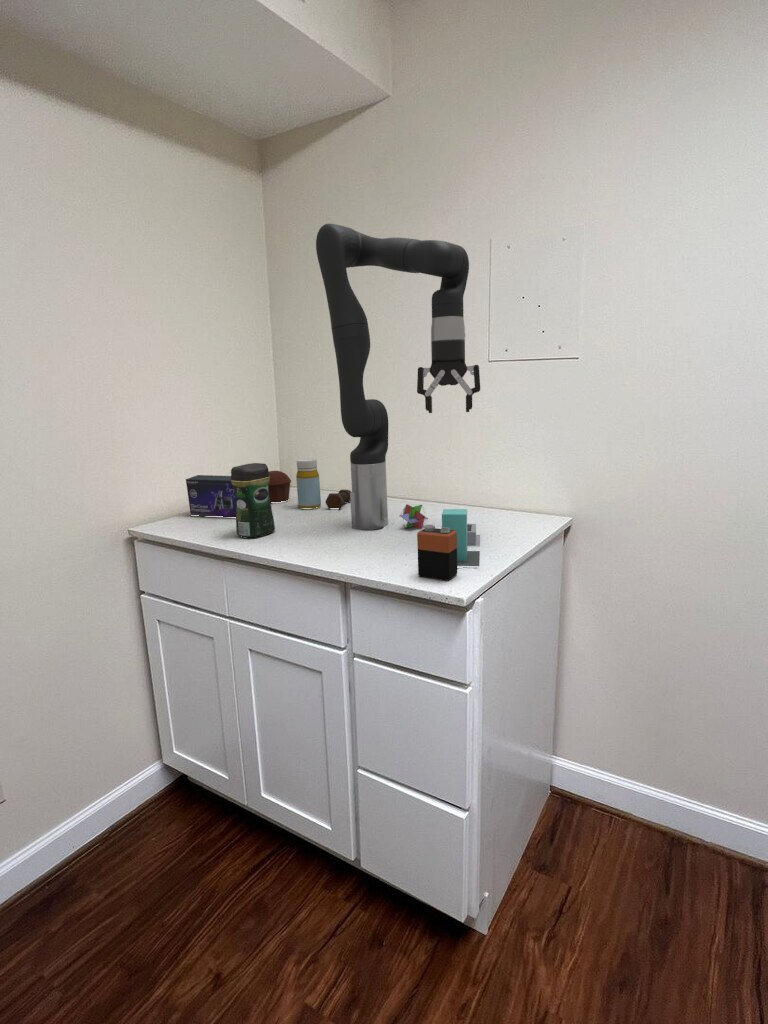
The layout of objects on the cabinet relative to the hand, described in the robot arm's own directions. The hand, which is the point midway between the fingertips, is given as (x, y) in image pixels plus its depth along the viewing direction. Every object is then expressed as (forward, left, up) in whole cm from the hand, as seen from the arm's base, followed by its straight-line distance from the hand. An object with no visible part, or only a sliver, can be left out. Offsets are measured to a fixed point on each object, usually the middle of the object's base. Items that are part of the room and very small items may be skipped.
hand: (449, 412), depth 133 cm
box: (-71, +24, -30) cm, 81 cm away
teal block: (+2, -17, -30) cm, 34 cm away
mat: (+2, -17, -30) cm, 35 cm away
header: (+2, -3, -30) cm, 30 cm away
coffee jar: (-51, +3, -30) cm, 59 cm away
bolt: (-37, +39, -31) cm, 62 cm away
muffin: (-61, +45, -30) cm, 82 cm away
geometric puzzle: (-10, +9, -30) cm, 33 cm away
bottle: (-46, +35, -30) cm, 65 cm away
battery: (-1, -27, -30) cm, 41 cm away
